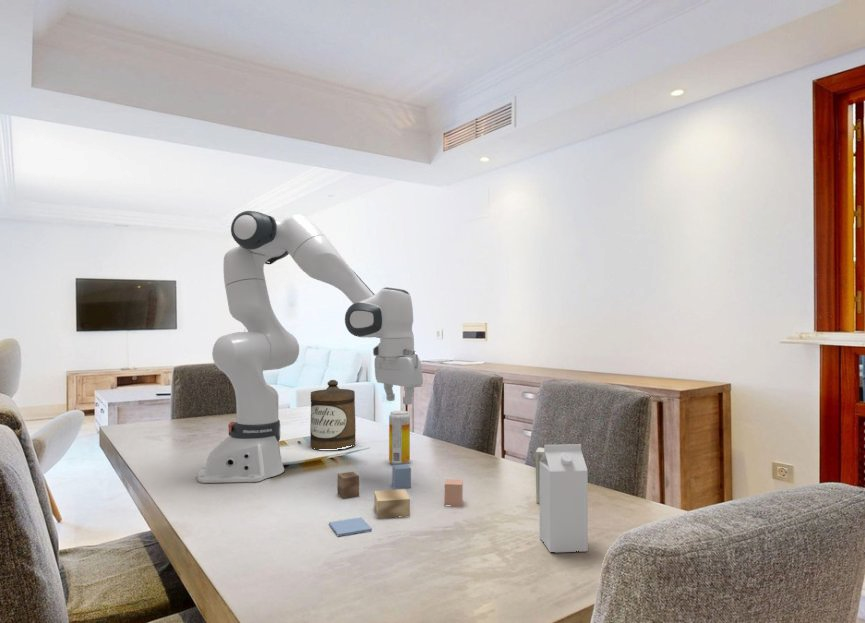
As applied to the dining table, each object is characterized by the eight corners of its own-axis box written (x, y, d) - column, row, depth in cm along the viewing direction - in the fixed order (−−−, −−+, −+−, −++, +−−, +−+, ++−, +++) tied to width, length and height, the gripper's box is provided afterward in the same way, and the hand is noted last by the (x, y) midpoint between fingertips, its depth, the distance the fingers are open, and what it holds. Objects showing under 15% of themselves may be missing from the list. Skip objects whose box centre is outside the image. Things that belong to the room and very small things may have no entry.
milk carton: (539, 538, 109) (539, 440, 109) (574, 537, 110) (574, 440, 110) (550, 553, 102) (549, 449, 102) (587, 552, 103) (587, 448, 103)
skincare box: (564, 500, 132) (564, 448, 132) (562, 506, 128) (562, 453, 128) (537, 497, 134) (537, 446, 134) (535, 503, 130) (535, 450, 130)
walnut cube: (343, 499, 133) (343, 478, 133) (337, 494, 136) (337, 474, 136) (359, 496, 135) (359, 475, 135) (352, 492, 138) (352, 471, 138)
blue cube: (395, 489, 140) (395, 469, 140) (392, 484, 144) (392, 465, 144) (410, 487, 141) (410, 468, 142) (407, 483, 145) (407, 464, 145)
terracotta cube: (444, 506, 128) (444, 484, 128) (445, 500, 132) (445, 479, 132) (462, 506, 128) (462, 484, 128) (462, 500, 132) (462, 479, 132)
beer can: (411, 460, 168) (411, 410, 168) (408, 466, 162) (408, 414, 162) (391, 460, 168) (391, 410, 169) (387, 465, 162) (387, 413, 163)
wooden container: (301, 449, 182) (302, 381, 182) (323, 439, 196) (323, 377, 196) (343, 452, 178) (343, 383, 178) (362, 442, 192) (362, 378, 192)
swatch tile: (337, 536, 110) (337, 534, 110) (328, 524, 116) (328, 522, 116) (371, 531, 113) (371, 528, 113) (361, 519, 119) (361, 517, 119)
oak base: (377, 519, 120) (377, 501, 120) (374, 508, 127) (374, 491, 127) (409, 517, 121) (409, 499, 121) (404, 506, 128) (404, 489, 128)
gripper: (427, 349, 139) (429, 405, 139) (390, 348, 157) (392, 397, 156) (405, 350, 136) (407, 407, 135) (370, 349, 153) (371, 399, 153)
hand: (398, 402), depth 146 cm, fingers open, 8 cm apart
